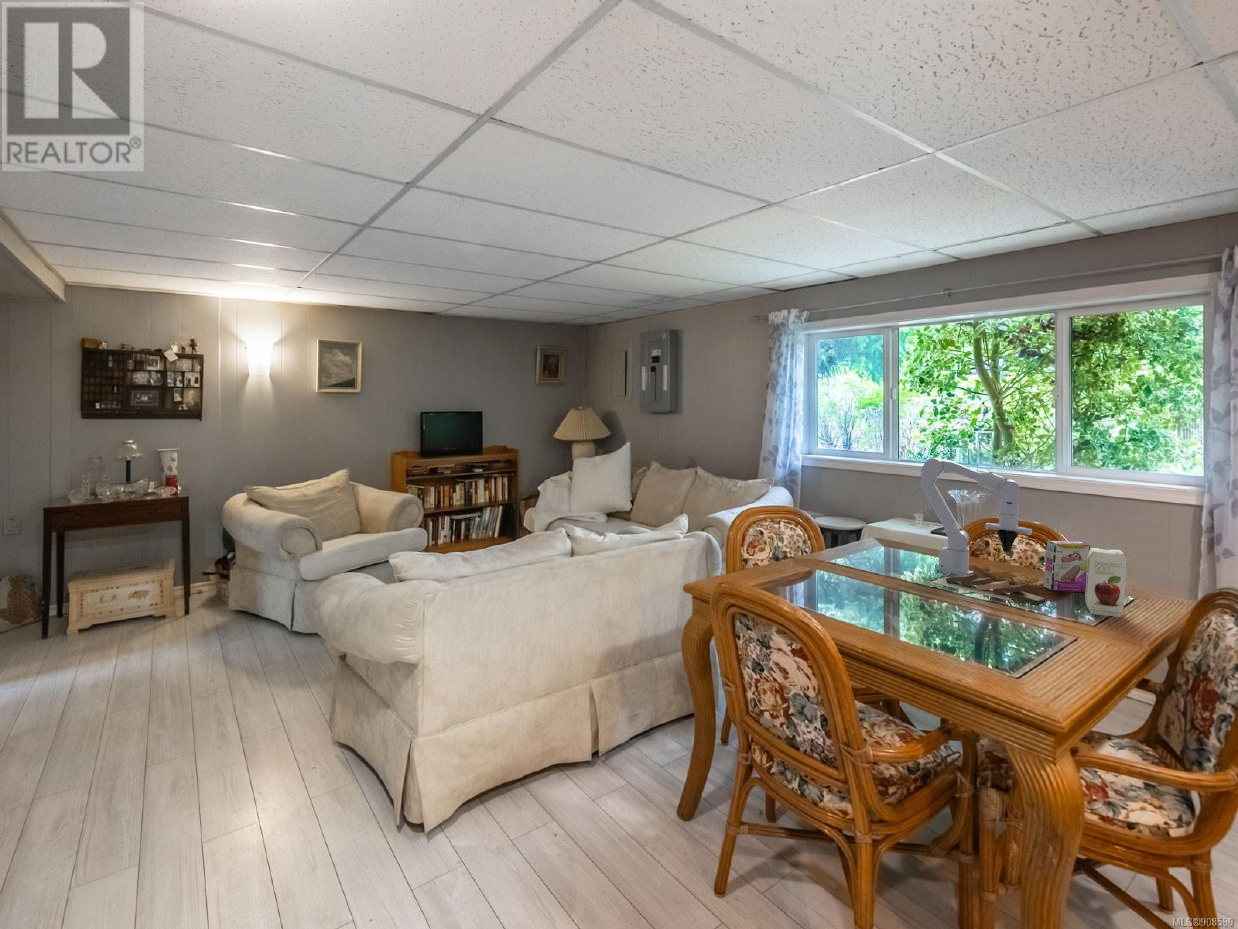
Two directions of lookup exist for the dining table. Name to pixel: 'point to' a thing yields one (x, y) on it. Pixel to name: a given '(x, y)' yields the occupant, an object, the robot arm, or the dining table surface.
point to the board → (973, 589)
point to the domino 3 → (993, 585)
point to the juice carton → (1105, 582)
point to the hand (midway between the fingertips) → (1007, 551)
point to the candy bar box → (1066, 566)
